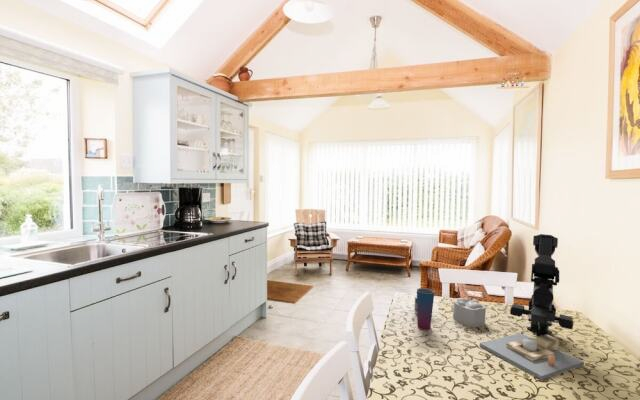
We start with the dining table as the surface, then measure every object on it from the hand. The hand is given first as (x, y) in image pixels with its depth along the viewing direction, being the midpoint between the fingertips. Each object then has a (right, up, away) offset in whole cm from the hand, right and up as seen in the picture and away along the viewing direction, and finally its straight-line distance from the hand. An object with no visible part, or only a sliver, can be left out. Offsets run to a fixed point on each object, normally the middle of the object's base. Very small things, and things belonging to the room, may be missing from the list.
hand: (538, 338), depth 121 cm
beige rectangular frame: (-4, -2, -5) cm, 7 cm away
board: (-7, -3, -6) cm, 10 cm away
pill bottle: (-34, -1, +29) cm, 45 cm away
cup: (-37, -1, +14) cm, 40 cm away
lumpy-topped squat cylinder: (-16, -2, +23) cm, 28 cm away
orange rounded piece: (-5, -3, -14) cm, 15 cm away
